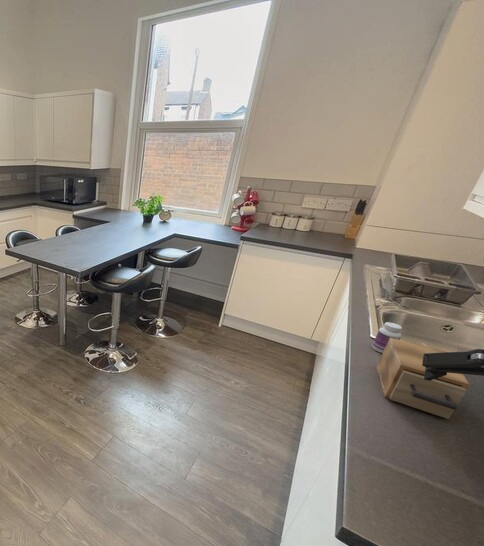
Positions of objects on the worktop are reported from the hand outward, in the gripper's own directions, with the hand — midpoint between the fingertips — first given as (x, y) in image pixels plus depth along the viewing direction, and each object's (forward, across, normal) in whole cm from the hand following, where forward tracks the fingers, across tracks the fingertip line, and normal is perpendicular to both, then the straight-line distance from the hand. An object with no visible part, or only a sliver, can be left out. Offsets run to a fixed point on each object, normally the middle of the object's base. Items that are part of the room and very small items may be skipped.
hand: (476, 388), depth 60 cm
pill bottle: (+46, -3, +19) cm, 50 cm away
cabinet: (+31, 0, +4) cm, 31 cm away
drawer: (+27, 0, +2) cm, 27 cm away
